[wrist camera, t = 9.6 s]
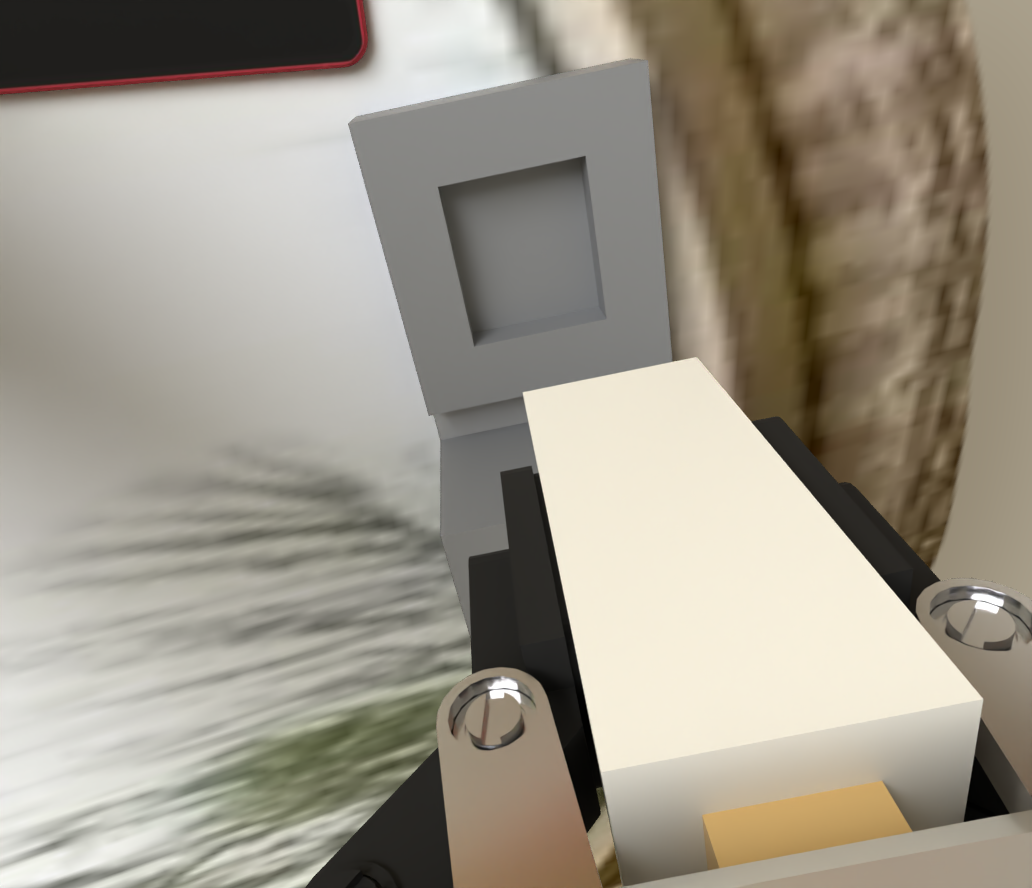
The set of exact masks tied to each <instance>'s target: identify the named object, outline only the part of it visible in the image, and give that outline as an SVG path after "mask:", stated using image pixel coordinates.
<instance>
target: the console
mask: <svg viewBox="0 0 1032 888" xmlns="http://www.w3.org/2000/svg"><path fill="white" fill-rule="evenodd" d="M348 125H349V129H350V132H351V136H352V140H353V143H354V147H355V150H356V154H357V158H358V161H359V165H360V168H361V172H362V176H363V179H364V183H365V187H366V190H367V194H368V197H369V201H370V205H371V208H372V212H373V215H374V219H375V223H376V226H377V230H378V233H379V237H380V241H381V244H382V248H383V252H384V255H385V259H386V262H387V266H388V270H389V273H390V277H391V280H392V284H393V288H394V291H395V295H396V299H397V302H398V306H399V309H400V313H401V317H402V320H403V324H404V327H405V331H406V335H407V338H408V342H409V346H410V349H411V353H412V356H413V360H414V364H415V367H416V371H417V374H418V378H419V382H420V385H421V389H422V392H423V396H424V400H425V403H426V407H427V411H428V414H429V416H430V415H434V418H435V422H436V425H437V429H438V433H439V436H440V440H441V451H440V536H441V540H442V543H443V547H444V550H445V553H446V557H447V560H448V564H449V567H450V570H451V574H452V577H453V580H454V584H455V587H456V591H457V594H458V597H459V601H460V604H461V607H462V611H463V614H464V618H465V621H466V624H467V628H468V631H469V635H470V638H471V626H470V597H469V568H468V561H469V557H470V556H475V555H480V554H485V553H490V552H495V551H500V550H505V549H509V545H508V537H507V528H506V519H505V511H504V502H503V493H502V485H501V476H500V472H502V471H507V470H512V469H517V468H521V467H526V466H531V465H532V469H533V474H535V473H539V472H538V467H537V462H536V457H535V452H534V447H533V442H532V437H531V432H530V427H529V422H528V417H527V412H526V407H525V402H524V397H523V392H527V391H532V390H536V389H541V388H546V387H551V386H556V385H561V384H566V383H571V382H576V381H581V380H586V379H591V378H596V377H601V376H606V375H610V374H615V373H620V372H625V371H630V370H635V369H640V368H645V367H650V366H655V365H660V364H665V363H670V362H672V350H671V338H670V326H669V314H668V301H667V289H666V277H665V265H664V252H663V240H662V228H661V216H660V204H659V191H658V179H657V167H656V155H655V142H654V130H653V118H652V106H651V94H650V81H649V69H648V60H640V59H631V58H630V59H625V60H621V61H616V62H611V63H607V64H602V65H597V66H592V67H588V68H583V69H578V70H574V71H569V72H564V73H559V74H555V75H550V76H545V77H541V78H536V79H531V80H526V81H522V82H517V83H512V84H508V85H503V86H498V87H493V88H489V89H484V90H479V91H475V92H470V93H465V94H460V95H456V96H451V97H446V98H442V99H437V100H432V101H427V102H423V103H418V104H413V105H409V106H404V107H399V108H394V109H390V110H385V111H380V112H376V113H371V114H366V115H361V116H357V117H355V118H354V119H353V120H352V121H351V122H350V123H349V124H348Z"/></svg>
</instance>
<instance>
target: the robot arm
mask: <svg viewBox="0 0 1032 888" xmlns="http://www.w3.org/2000/svg"><path fill="white" fill-rule="evenodd" d="M751 422H752V424H753V425H754V426H755V427H756V428H757V430H758V431H759V432H760V433H761V434H762V435H763V437H764V438H765V439H766V440H767V441H768V443H769V444H770V445H771V446H772V447H773V449H774V450H775V451H776V452H777V453H778V455H779V456H780V457H781V458H782V459H783V461H784V462H785V463H786V464H787V465H788V467H789V468H790V469H791V470H792V471H793V472H794V474H795V475H796V476H797V477H798V478H799V480H800V481H801V482H802V483H803V484H804V486H805V487H806V488H807V489H808V490H809V492H810V493H811V494H812V495H813V496H814V498H815V499H816V500H817V501H818V502H819V503H820V505H821V506H822V507H823V508H824V509H825V511H826V512H827V513H828V514H829V515H830V517H831V518H832V519H833V520H834V521H835V523H836V524H837V525H838V526H839V527H840V529H841V530H842V531H843V532H844V533H845V535H846V536H847V537H848V538H849V539H850V540H851V542H852V543H853V544H854V545H855V546H856V548H857V549H858V550H859V551H860V552H861V554H862V555H863V556H864V557H865V558H866V560H867V561H868V562H869V563H870V564H871V566H872V567H873V568H874V569H875V570H876V572H877V573H878V574H879V575H880V576H881V577H882V579H883V580H884V581H885V582H886V583H887V585H888V586H889V587H890V588H891V589H892V591H893V592H894V593H895V594H896V595H897V597H898V598H899V599H900V600H901V601H902V603H903V604H904V605H905V606H906V607H907V608H908V610H909V611H910V612H911V613H912V614H913V616H914V617H915V618H916V619H917V620H918V622H919V623H920V624H921V625H922V626H923V628H924V629H925V630H926V631H927V632H928V634H929V635H930V636H931V637H932V638H933V640H934V641H935V642H936V643H937V644H938V645H939V647H940V648H941V649H942V650H943V651H944V653H945V654H946V655H947V656H948V657H949V659H950V660H951V661H952V662H953V663H954V665H955V666H956V667H957V668H958V669H959V671H960V672H961V673H962V674H963V675H964V677H965V678H966V679H967V680H968V681H969V682H970V684H971V685H972V686H973V687H974V688H975V690H976V691H977V692H978V693H979V694H980V696H981V697H982V698H983V705H982V711H981V717H980V723H979V729H978V735H977V742H976V748H975V754H974V760H973V766H972V772H971V778H970V785H969V791H968V797H967V803H966V809H965V815H964V821H963V823H957V824H952V825H947V826H941V827H936V828H931V829H925V830H920V831H915V832H909V833H904V834H899V835H893V836H888V837H883V838H877V839H872V840H866V841H861V842H856V843H850V844H845V845H840V846H835V847H829V848H824V849H819V850H813V851H808V852H803V853H797V854H792V855H787V856H782V857H776V858H771V859H766V860H760V861H755V862H750V863H744V864H739V865H734V866H729V867H724V868H719V869H713V870H708V871H703V872H698V873H693V874H687V875H682V876H677V877H672V878H667V879H662V880H656V881H651V882H646V883H641V884H636V885H631V886H625V887H620V888H1032V600H1031V599H1030V598H1029V597H1027V596H1025V595H1023V594H1022V593H1020V592H1018V591H1016V590H1014V589H1013V588H1010V587H1007V586H1004V585H1001V584H998V583H995V582H992V581H987V580H980V579H974V578H952V579H948V580H944V581H940V580H939V579H938V578H937V576H936V575H935V574H934V573H933V572H932V571H931V570H930V569H929V567H928V566H927V565H926V564H925V563H924V562H923V561H922V560H921V559H920V558H919V556H918V555H917V554H916V553H915V552H914V551H913V550H912V549H911V548H910V547H909V545H908V544H907V543H906V542H905V541H904V540H903V539H902V538H901V537H900V536H899V534H898V533H897V532H896V531H895V530H894V529H893V528H892V527H891V526H890V525H889V523H888V522H887V521H886V520H885V519H884V518H883V517H882V516H881V515H880V514H879V512H878V511H877V510H876V509H875V508H874V507H873V506H872V505H871V504H870V503H869V501H868V500H867V499H866V498H865V497H864V496H863V495H862V494H861V493H860V492H859V490H858V489H857V488H856V487H854V486H853V485H852V484H851V483H846V482H844V483H839V484H838V482H837V481H836V480H835V479H834V478H833V477H832V476H831V475H830V473H829V472H828V471H827V470H826V469H825V468H824V467H823V465H822V464H821V463H820V462H819V461H818V460H817V459H816V457H815V456H814V455H813V454H812V453H811V452H810V451H809V449H808V448H807V447H806V446H805V445H804V444H803V443H802V441H801V440H800V439H799V438H798V437H797V436H796V435H795V433H794V432H793V431H792V430H791V429H790V428H789V427H788V426H787V424H786V423H785V422H784V421H783V420H782V419H781V418H780V417H771V418H766V419H761V420H756V421H751ZM500 476H501V485H502V493H503V502H504V511H505V519H506V528H507V537H508V545H509V549H505V550H500V551H495V552H490V553H485V554H480V555H475V556H470V557H469V561H468V568H469V597H470V626H471V655H472V675H469V676H467V677H466V678H465V679H463V680H462V681H460V682H459V683H458V684H456V685H455V686H454V687H453V688H452V689H451V690H450V691H449V693H448V694H447V695H446V696H445V697H444V699H443V701H442V703H441V705H440V708H439V710H438V712H437V723H436V730H437V739H438V748H437V749H436V750H435V751H434V752H433V753H432V754H431V755H430V756H429V757H428V758H427V759H426V760H425V761H424V762H423V763H422V764H421V765H420V766H419V767H418V769H417V770H416V771H415V772H414V773H413V774H412V775H411V776H410V777H409V778H408V779H407V780H406V781H405V782H404V783H403V784H402V785H401V786H400V787H399V788H398V789H397V790H396V791H395V793H394V794H393V795H392V796H391V797H390V798H389V799H388V800H387V801H386V802H385V803H384V804H383V805H382V806H381V807H380V808H379V809H378V810H377V811H376V812H375V813H374V814H373V816H372V817H371V818H370V819H369V820H368V821H367V822H366V823H365V824H364V825H363V826H362V827H361V828H360V829H359V830H358V831H357V832H356V833H355V834H354V835H353V836H352V837H351V838H350V840H349V841H348V842H347V843H346V844H345V845H344V846H343V847H342V848H341V849H340V850H339V851H338V852H337V853H336V854H335V855H334V856H333V857H332V858H331V859H330V860H329V861H328V863H327V864H326V865H325V866H324V867H323V868H322V869H321V870H320V871H319V872H318V873H317V874H316V875H315V876H314V877H313V878H312V880H311V881H310V882H309V884H308V885H307V886H306V887H305V888H602V885H601V881H600V878H599V874H598V871H597V868H596V864H595V861H594V857H593V854H592V850H591V847H590V843H589V840H588V836H587V833H588V831H589V830H590V828H591V827H592V826H593V824H594V823H595V821H596V820H597V819H598V817H599V816H600V814H601V813H600V812H601V811H600V806H599V801H598V796H597V791H596V788H599V787H602V782H601V777H600V772H599V767H598V762H597V757H596V752H595V746H594V741H593V736H592V731H591V726H590V721H589V716H588V711H587V706H586V701H585V696H584V691H583V686H582V681H581V676H580V671H579V666H578V661H577V656H576V651H575V646H574V641H573V636H572V631H571V626H570V621H569V616H568V612H567V607H566V602H565V597H564V592H563V587H562V582H561V577H560V573H559V568H558V563H557V558H556V553H555V548H554V543H553V539H552V534H551V529H550V524H549V519H548V514H547V509H546V505H545V500H544V495H543V490H542V485H541V480H540V475H539V473H535V474H533V469H532V465H531V466H526V467H521V468H517V469H512V470H507V471H502V472H500Z"/></svg>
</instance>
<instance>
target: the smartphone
mask: <svg viewBox="0 0 1032 888" xmlns="http://www.w3.org/2000/svg"><path fill="white" fill-rule="evenodd" d="M367 43H368V34H367V27H366V20H365V14H364V7H363V0H0V94H12V93H25V92H38V91H50V90H63V89H76V88H88V87H101V86H114V85H126V84H139V83H152V82H164V81H177V80H190V79H202V78H215V77H227V76H240V75H253V74H265V73H278V72H291V71H303V70H316V69H329V68H341V67H348V66H351V65H354V64H356V63H357V62H358V61H359V60H360V59H361V58H362V57H363V55H364V53H365V52H366V48H367Z"/></svg>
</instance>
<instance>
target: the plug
mask: <svg viewBox="0 0 1032 888" xmlns="http://www.w3.org/2000/svg"><path fill="white" fill-rule="evenodd" d="M523 397H524V402H525V407H526V412H527V417H528V422H529V427H530V432H531V437H532V442H533V447H534V452H535V457H536V462H537V467H538V472H539V475H540V480H541V485H542V490H543V495H544V500H545V505H546V509H547V514H548V519H549V524H550V529H551V534H552V539H553V543H554V548H555V553H556V558H557V563H558V568H559V573H560V577H561V582H562V587H563V592H564V597H565V602H566V607H567V612H568V616H569V621H570V626H571V631H572V636H573V641H574V646H575V651H576V656H577V661H578V666H579V671H580V676H581V681H582V686H583V691H584V696H585V701H586V706H587V711H588V716H589V721H590V726H591V731H592V736H593V741H594V746H595V752H596V757H597V762H598V767H599V772H600V777H601V782H602V788H603V793H604V797H605V802H606V807H607V812H608V817H609V822H610V827H611V832H612V837H613V842H614V846H615V851H616V856H617V861H618V866H619V871H620V876H621V881H622V886H623V887H625V886H631V885H636V884H641V883H646V882H651V881H656V880H662V879H667V878H672V877H677V876H682V875H687V874H693V873H698V872H703V871H708V870H713V869H719V868H724V867H729V866H734V865H739V864H744V863H750V862H755V861H760V860H766V859H771V858H776V857H782V856H787V855H792V854H797V853H803V852H808V851H813V850H819V849H824V848H829V847H835V846H840V845H845V844H850V843H856V842H861V841H866V840H872V839H877V838H883V837H888V836H893V835H899V834H904V833H909V832H915V831H920V830H925V829H931V828H936V827H941V826H947V825H952V824H957V823H963V821H964V815H965V809H966V803H967V797H968V791H969V785H970V778H971V772H972V766H973V760H974V754H975V748H976V742H977V735H978V729H979V723H980V717H981V711H982V705H983V698H982V697H981V696H980V694H979V693H978V692H977V691H976V690H975V688H974V687H973V686H972V685H971V684H970V682H969V681H968V680H967V679H966V678H965V677H964V675H963V674H962V673H961V672H960V671H959V669H958V668H957V667H956V666H955V665H954V663H953V662H952V661H951V660H950V659H949V657H948V656H947V655H946V654H945V653H944V651H943V650H942V649H941V648H940V647H939V645H938V644H937V643H936V642H935V641H934V640H933V638H932V637H931V636H930V635H929V634H928V632H927V631H926V630H925V629H924V628H923V626H922V625H921V624H920V623H919V622H918V620H917V619H916V618H915V617H914V616H913V614H912V613H911V612H910V611H909V610H908V608H907V607H906V606H905V605H904V604H903V603H902V601H901V600H900V599H899V598H898V597H897V595H896V594H895V593H894V592H893V591H892V589H891V588H890V587H889V586H888V585H887V583H886V582H885V581H884V580H883V579H882V577H881V576H880V575H879V574H878V573H877V572H876V570H875V569H874V568H873V567H872V566H871V564H870V563H869V562H868V561H867V560H866V558H865V557H864V556H863V555H862V554H861V552H860V551H859V550H858V549H857V548H856V546H855V545H854V544H853V543H852V542H851V540H850V539H849V538H848V537H847V536H846V535H845V533H844V532H843V531H842V530H841V529H840V527H839V526H838V525H837V524H836V523H835V521H834V520H833V519H832V518H831V517H830V515H829V514H828V513H827V512H826V511H825V509H824V508H823V507H822V506H821V505H820V503H819V502H818V501H817V500H816V499H815V498H814V496H813V495H812V494H811V493H810V492H809V490H808V489H807V488H806V487H805V486H804V484H803V483H802V482H801V481H800V480H799V478H798V477H797V476H796V475H795V474H794V472H793V471H792V470H791V469H790V468H789V467H788V465H787V464H786V463H785V462H784V461H783V459H782V458H781V457H780V456H779V455H778V453H777V452H776V451H775V450H774V449H773V447H772V446H771V445H770V444H769V443H768V441H767V440H766V439H765V438H764V437H763V435H762V434H761V433H760V432H759V431H758V430H757V428H756V427H755V426H754V425H753V424H752V422H751V421H750V420H749V419H748V418H747V416H746V415H745V414H744V413H743V412H742V410H741V409H740V408H739V407H738V406H737V404H736V403H735V402H734V401H733V400H732V398H731V397H730V396H729V395H728V394H727V393H726V391H725V390H724V389H723V388H722V387H721V385H720V384H719V383H718V382H717V381H716V379H715V378H714V377H713V376H712V375H711V373H710V372H709V371H708V370H707V369H706V367H705V366H704V365H703V364H702V363H701V362H700V360H699V359H698V358H697V357H694V358H689V359H684V360H680V361H675V362H670V363H665V364H660V365H655V366H650V367H645V368H640V369H635V370H630V371H625V372H620V373H615V374H610V375H606V376H601V377H596V378H591V379H586V380H581V381H576V382H571V383H566V384H561V385H556V386H551V387H546V388H541V389H536V390H532V391H527V392H523Z"/></svg>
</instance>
